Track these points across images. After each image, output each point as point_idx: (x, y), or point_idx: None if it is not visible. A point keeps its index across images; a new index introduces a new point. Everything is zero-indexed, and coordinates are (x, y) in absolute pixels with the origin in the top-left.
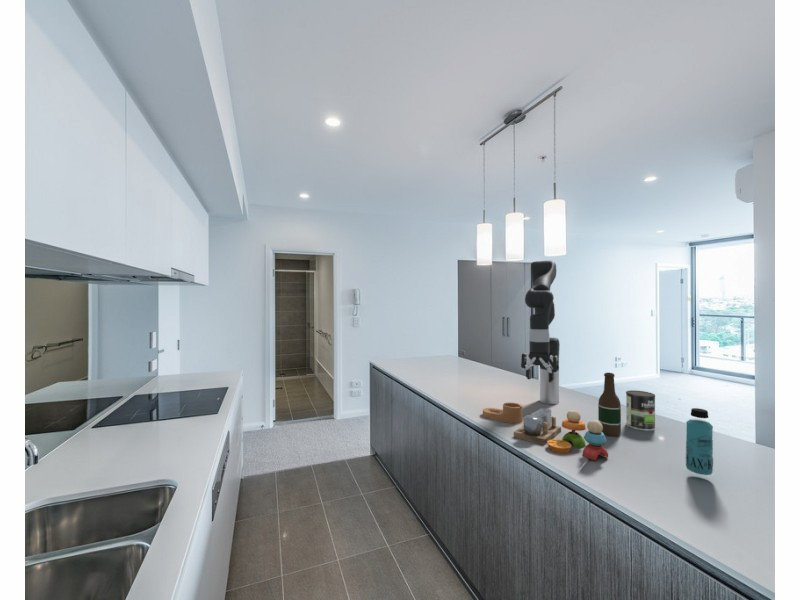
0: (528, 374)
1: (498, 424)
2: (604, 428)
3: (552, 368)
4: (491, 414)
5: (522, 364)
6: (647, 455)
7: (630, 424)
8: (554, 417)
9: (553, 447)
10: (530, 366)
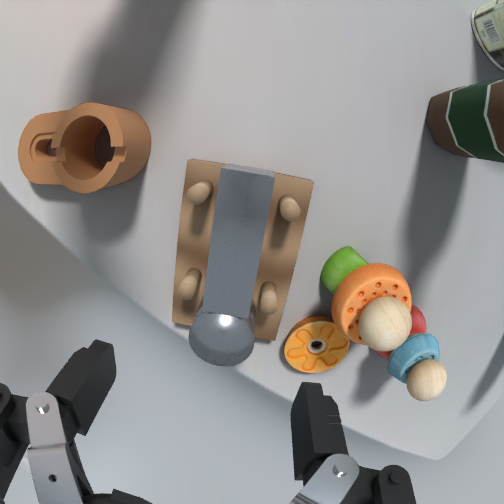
0: (96, 406)
1: (95, 223)
2: (451, 148)
3: (342, 496)
4: (50, 183)
5: (10, 447)
6: (495, 263)
7: (489, 50)
8: (295, 214)
9: (303, 369)
10: (86, 477)
